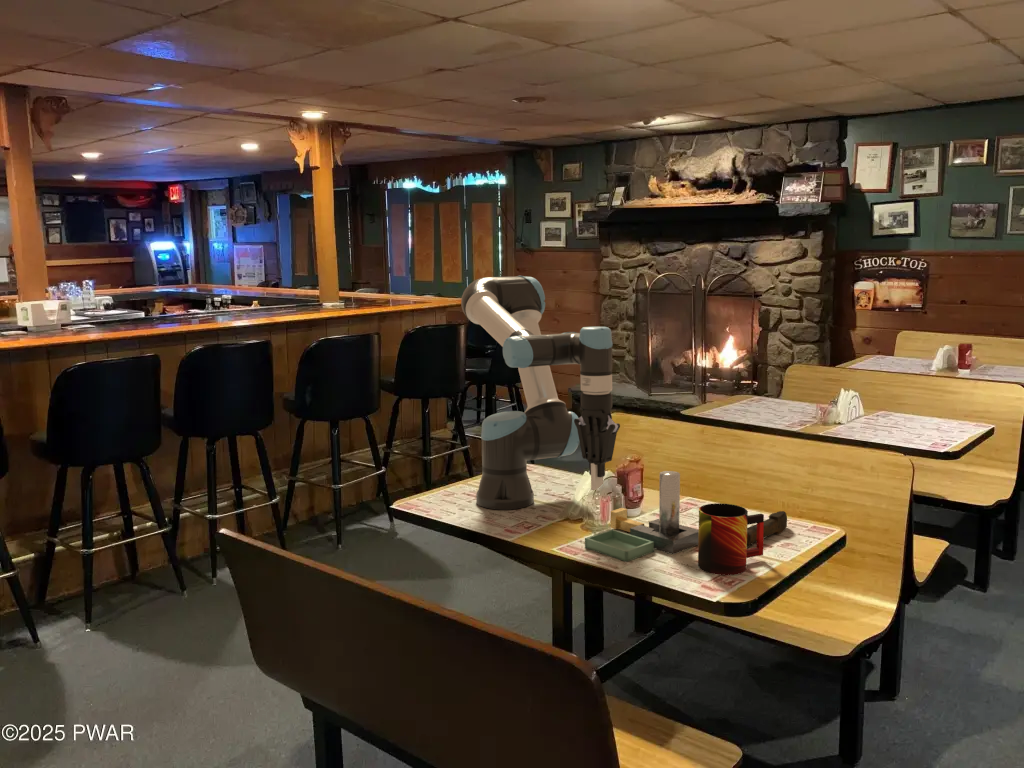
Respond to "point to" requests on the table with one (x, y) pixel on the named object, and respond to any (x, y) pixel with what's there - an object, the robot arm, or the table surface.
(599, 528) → the table surface
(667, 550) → the socket block
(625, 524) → the tan wooden stepped block
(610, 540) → the tray
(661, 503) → the grey long rod
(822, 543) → the table surface
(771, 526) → the hand tool
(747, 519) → the mug
